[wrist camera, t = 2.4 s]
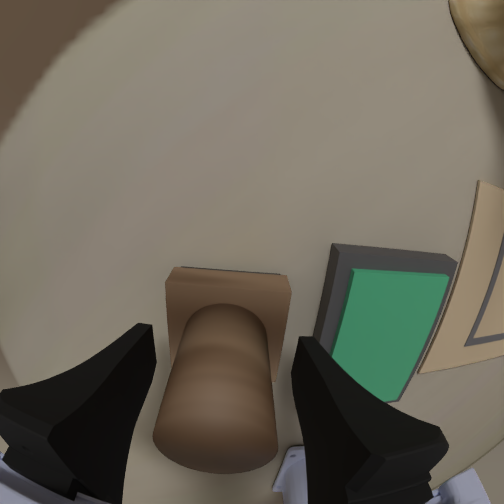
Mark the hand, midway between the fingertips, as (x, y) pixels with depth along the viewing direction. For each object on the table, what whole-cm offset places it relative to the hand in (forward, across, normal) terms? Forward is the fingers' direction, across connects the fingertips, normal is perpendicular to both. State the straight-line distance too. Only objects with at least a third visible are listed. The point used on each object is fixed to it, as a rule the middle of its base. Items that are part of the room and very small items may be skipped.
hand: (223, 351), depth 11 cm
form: (+3, -21, -2) cm, 21 cm away
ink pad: (+3, -8, +1) cm, 9 cm away
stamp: (+3, 0, 0) cm, 3 cm away
